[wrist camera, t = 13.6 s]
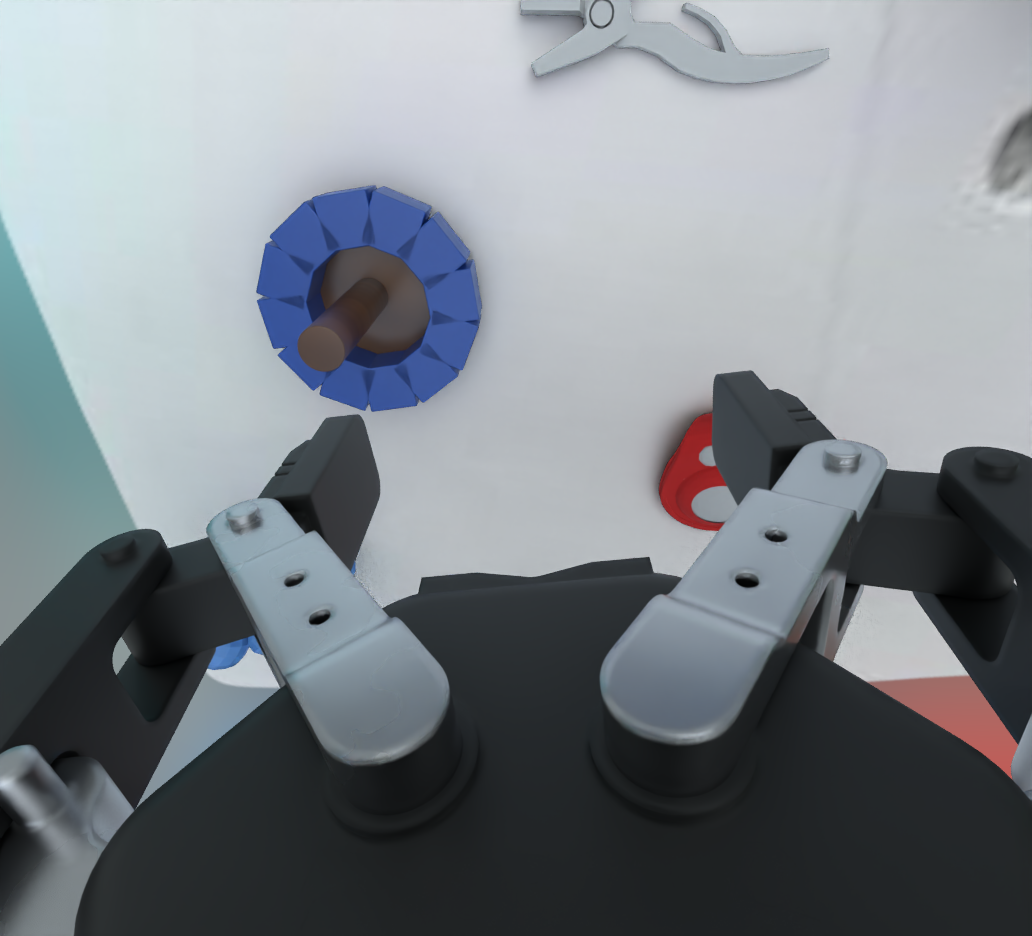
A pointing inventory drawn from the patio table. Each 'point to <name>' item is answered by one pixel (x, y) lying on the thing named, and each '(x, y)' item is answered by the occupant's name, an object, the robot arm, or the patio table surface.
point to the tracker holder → (696, 481)
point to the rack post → (364, 308)
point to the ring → (397, 231)
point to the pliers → (660, 43)
